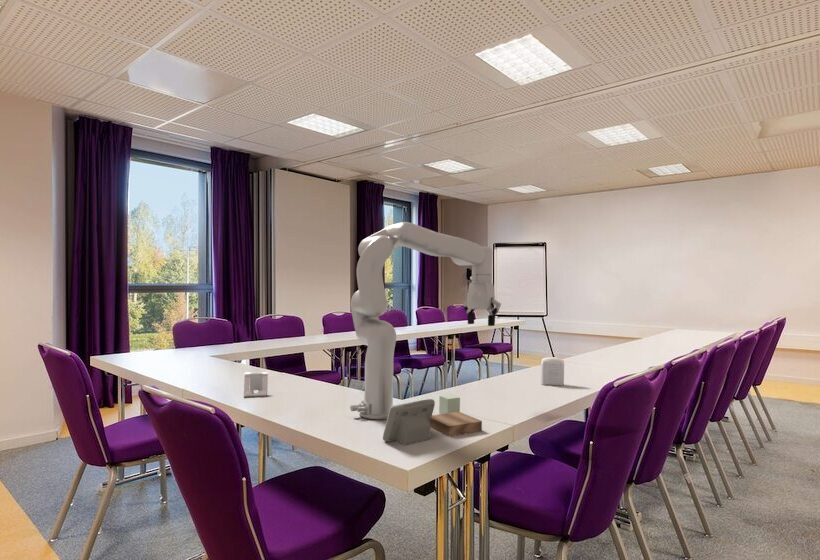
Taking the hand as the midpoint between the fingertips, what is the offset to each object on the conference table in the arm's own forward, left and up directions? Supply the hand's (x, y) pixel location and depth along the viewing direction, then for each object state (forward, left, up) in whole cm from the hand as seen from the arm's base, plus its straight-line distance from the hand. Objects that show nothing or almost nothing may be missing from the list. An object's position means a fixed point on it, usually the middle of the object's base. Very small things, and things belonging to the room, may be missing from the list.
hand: (480, 324), depth 180 cm
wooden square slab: (-28, -23, -29) cm, 46 cm away
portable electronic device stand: (-72, +48, -30) cm, 91 cm away
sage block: (-20, -9, -29) cm, 36 cm away
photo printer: (+50, +11, -29) cm, 59 cm away
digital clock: (-45, -25, -30) cm, 59 cm away
